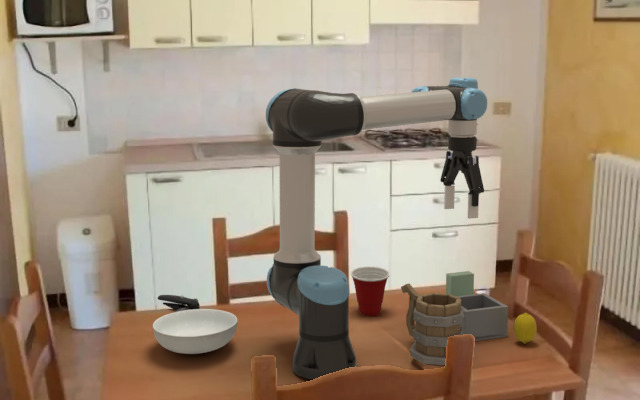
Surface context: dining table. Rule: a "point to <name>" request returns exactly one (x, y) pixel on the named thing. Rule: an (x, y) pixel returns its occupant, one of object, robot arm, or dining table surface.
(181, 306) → the black stapler
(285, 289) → the robot arm
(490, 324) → the parts tub
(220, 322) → the serving bowl
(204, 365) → the dining table surface
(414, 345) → the tankard
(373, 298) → the plastic cup
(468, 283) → the lid
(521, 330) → the lemon
